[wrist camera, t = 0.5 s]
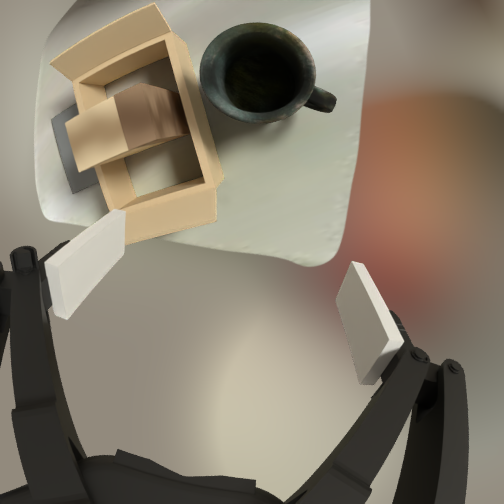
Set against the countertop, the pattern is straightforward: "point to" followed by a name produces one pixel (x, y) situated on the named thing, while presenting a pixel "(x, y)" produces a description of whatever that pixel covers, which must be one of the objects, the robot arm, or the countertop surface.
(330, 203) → the countertop surface
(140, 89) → the block
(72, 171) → the mat
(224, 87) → the mug
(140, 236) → the carton
